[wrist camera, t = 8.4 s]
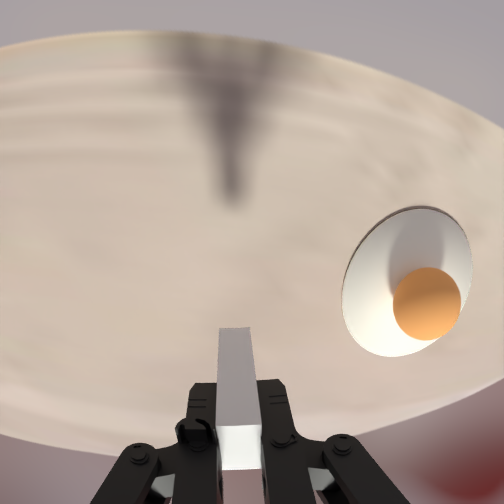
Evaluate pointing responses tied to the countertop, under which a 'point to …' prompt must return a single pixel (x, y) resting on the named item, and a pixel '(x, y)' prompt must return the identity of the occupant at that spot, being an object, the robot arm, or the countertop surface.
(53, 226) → the countertop surface
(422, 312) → the ball
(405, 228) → the white plate
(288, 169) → the countertop surface
